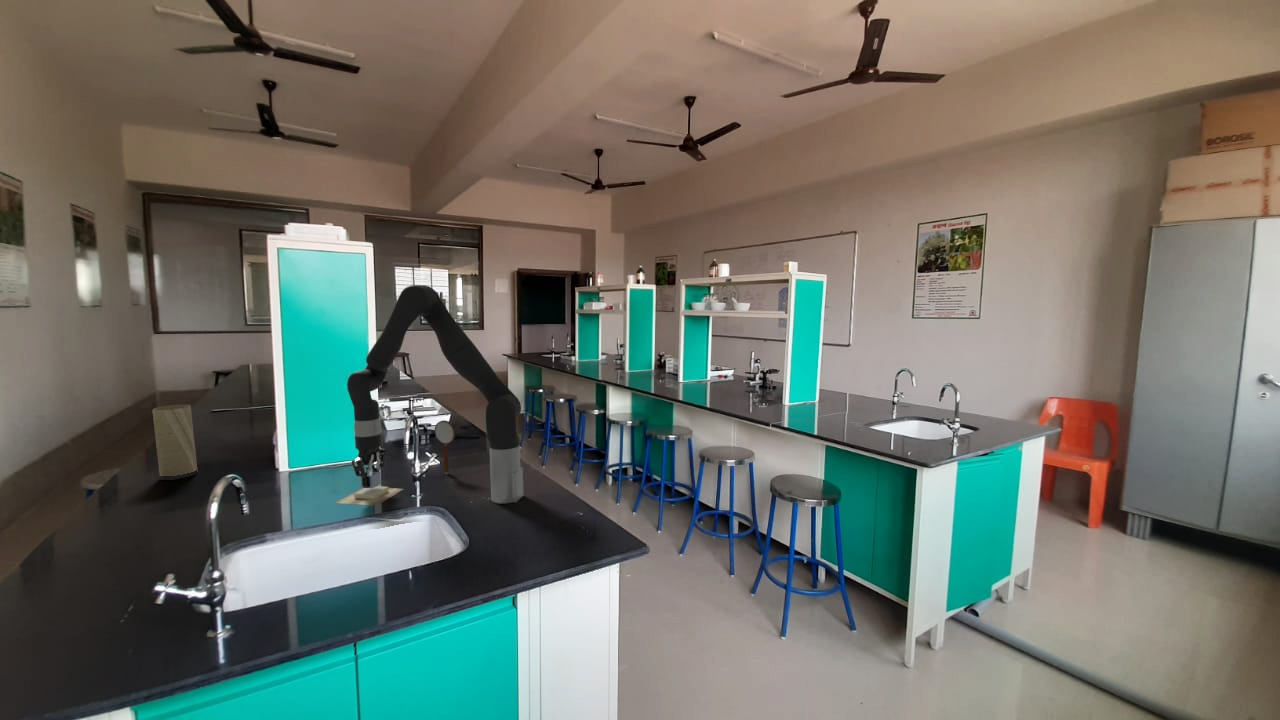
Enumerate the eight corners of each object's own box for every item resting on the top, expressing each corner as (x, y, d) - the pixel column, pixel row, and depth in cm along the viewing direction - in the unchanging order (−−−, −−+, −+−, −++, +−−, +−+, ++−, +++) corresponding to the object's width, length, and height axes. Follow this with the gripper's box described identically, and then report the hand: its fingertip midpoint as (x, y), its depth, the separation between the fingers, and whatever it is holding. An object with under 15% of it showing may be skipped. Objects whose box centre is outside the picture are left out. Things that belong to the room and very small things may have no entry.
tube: (152, 480, 180) (143, 410, 177) (178, 471, 190) (171, 404, 187) (179, 481, 179) (172, 410, 177) (204, 471, 189) (198, 404, 186)
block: (380, 483, 167) (380, 471, 167) (372, 488, 163) (372, 476, 163) (369, 483, 168) (368, 471, 167) (361, 487, 164) (360, 475, 163)
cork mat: (403, 490, 171) (403, 488, 171) (376, 506, 157) (376, 505, 157) (365, 487, 173) (365, 486, 173) (335, 504, 159) (334, 503, 159)
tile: (388, 486, 169) (374, 494, 162) (388, 491, 169) (374, 499, 162) (368, 485, 170) (354, 493, 163) (369, 490, 170) (354, 498, 163)
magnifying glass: (458, 475, 185) (456, 420, 183) (455, 476, 184) (452, 421, 181) (438, 472, 188) (436, 419, 186) (435, 474, 187) (432, 420, 184)
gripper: (363, 439, 156) (367, 493, 158) (392, 427, 170) (395, 478, 172) (341, 438, 157) (345, 492, 159) (371, 426, 171) (375, 476, 173)
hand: (371, 484), depth 166 cm, fingers closed on block, 4 cm apart
